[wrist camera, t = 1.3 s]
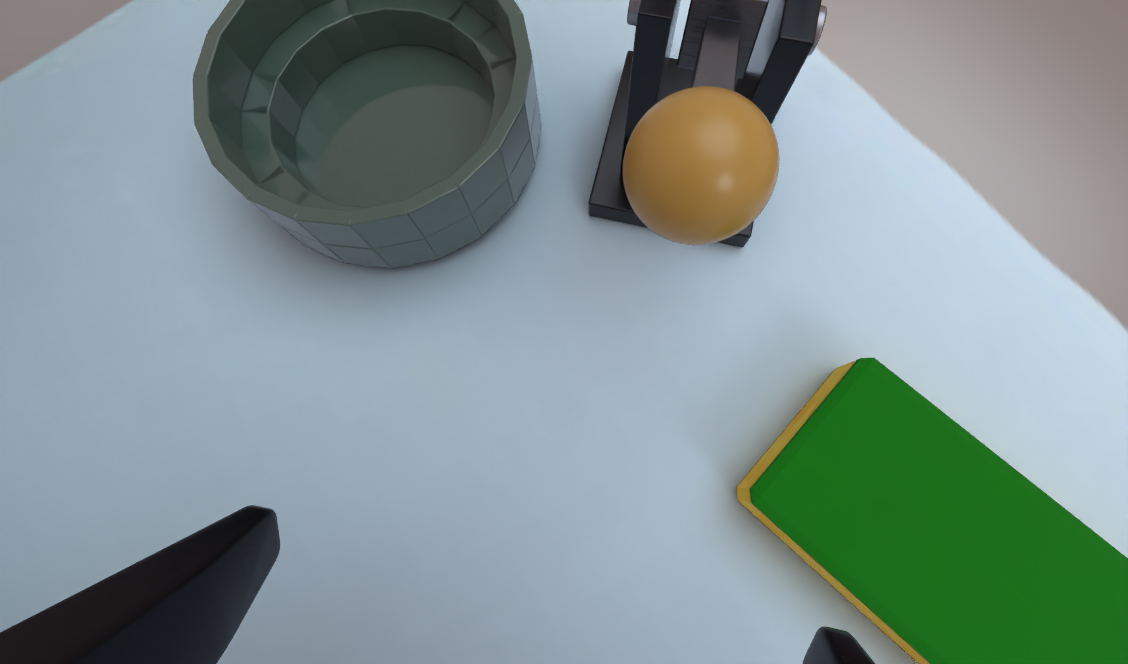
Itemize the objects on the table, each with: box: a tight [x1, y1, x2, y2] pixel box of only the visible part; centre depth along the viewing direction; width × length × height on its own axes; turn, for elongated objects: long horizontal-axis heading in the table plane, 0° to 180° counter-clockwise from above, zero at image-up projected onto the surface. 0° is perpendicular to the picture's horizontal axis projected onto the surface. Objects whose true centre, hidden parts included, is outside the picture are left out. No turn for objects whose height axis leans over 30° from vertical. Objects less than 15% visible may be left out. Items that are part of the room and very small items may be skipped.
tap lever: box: [623, 0, 779, 245], centre depth 15 cm, size 11×4×4 cm, turn 166°
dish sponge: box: [736, 358, 1128, 664], centre depth 20 cm, size 7×14×2 cm, turn 47°
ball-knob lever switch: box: [589, 0, 827, 247], centre depth 21 cm, size 8×7×10 cm
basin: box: [193, 0, 541, 268], centre depth 24 cm, size 13×13×5 cm
